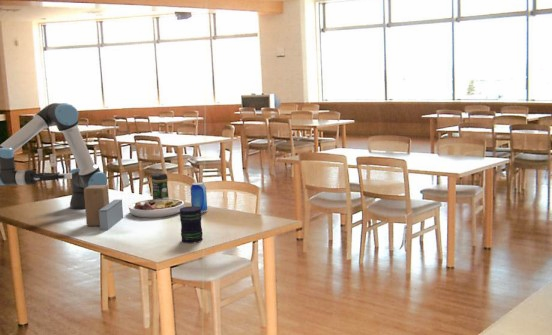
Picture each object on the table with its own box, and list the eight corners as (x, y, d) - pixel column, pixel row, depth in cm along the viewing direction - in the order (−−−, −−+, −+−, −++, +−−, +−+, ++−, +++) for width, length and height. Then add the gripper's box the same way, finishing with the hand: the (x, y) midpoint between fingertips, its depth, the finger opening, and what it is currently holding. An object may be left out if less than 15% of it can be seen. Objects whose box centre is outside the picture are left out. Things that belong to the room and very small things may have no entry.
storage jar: (202, 242, 299) (200, 210, 296) (180, 243, 298) (178, 211, 296) (203, 236, 309) (201, 205, 306) (182, 238, 308) (180, 206, 306)
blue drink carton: (189, 213, 360) (187, 184, 357) (196, 209, 367) (195, 181, 365) (202, 214, 357) (201, 185, 354) (210, 210, 364) (208, 182, 362)
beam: (115, 218, 355) (114, 199, 353) (123, 217, 354) (121, 199, 353) (100, 230, 329) (98, 210, 328) (108, 229, 329) (106, 210, 327)
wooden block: (105, 226, 337) (102, 187, 334) (86, 226, 338) (82, 188, 334) (111, 221, 347) (108, 184, 344) (92, 222, 347) (89, 184, 344)
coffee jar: (150, 204, 388) (148, 173, 385) (162, 201, 394) (160, 171, 391) (160, 206, 381) (158, 174, 379) (171, 203, 387) (169, 172, 384)
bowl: (142, 206, 382) (141, 193, 381) (191, 207, 376) (190, 193, 375) (120, 219, 354) (119, 204, 352) (172, 219, 347) (171, 205, 346)
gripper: (32, 182, 348) (76, 180, 346) (22, 187, 335) (67, 185, 333) (31, 168, 346) (75, 166, 345) (20, 172, 333) (65, 170, 332)
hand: (71, 176), depth 339 cm, fingers closed
